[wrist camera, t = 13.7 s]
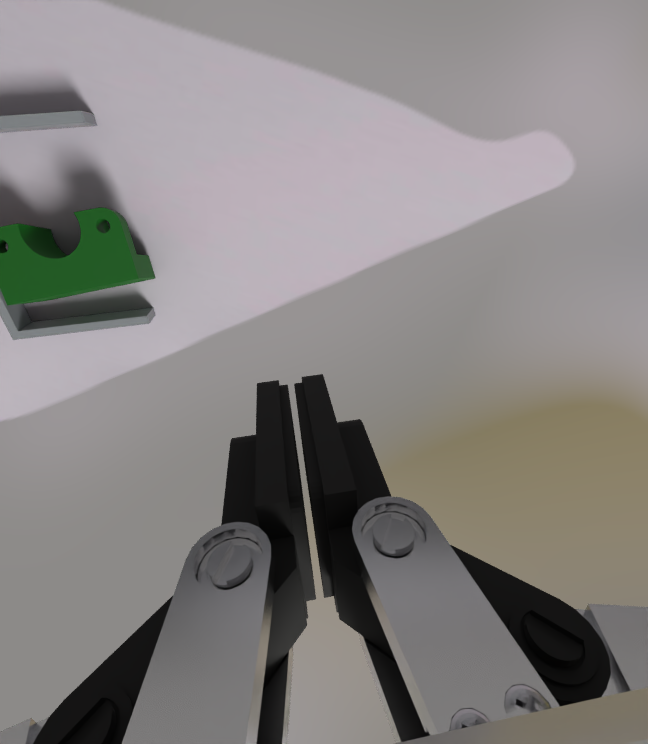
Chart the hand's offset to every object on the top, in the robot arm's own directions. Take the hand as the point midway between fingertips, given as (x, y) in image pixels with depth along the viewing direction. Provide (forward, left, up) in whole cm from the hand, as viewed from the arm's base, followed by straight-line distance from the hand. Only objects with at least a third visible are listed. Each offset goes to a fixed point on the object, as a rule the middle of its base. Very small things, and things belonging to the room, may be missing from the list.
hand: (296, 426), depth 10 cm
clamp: (-14, +11, -32) cm, 37 cm away
